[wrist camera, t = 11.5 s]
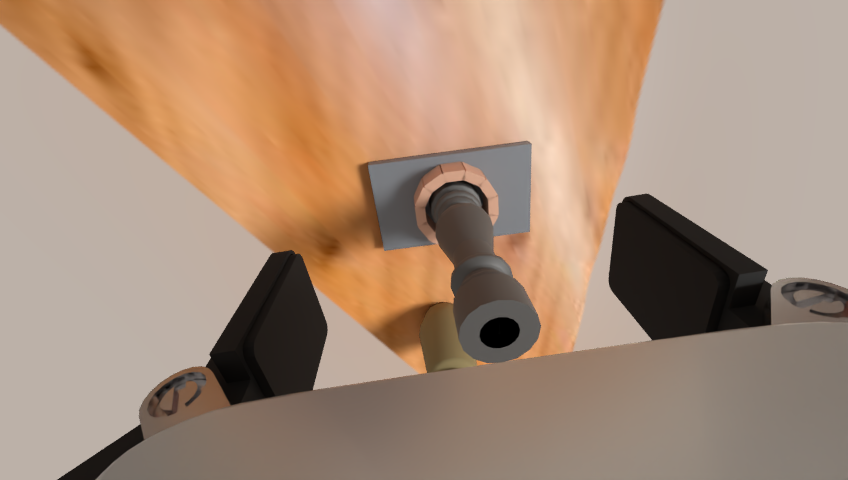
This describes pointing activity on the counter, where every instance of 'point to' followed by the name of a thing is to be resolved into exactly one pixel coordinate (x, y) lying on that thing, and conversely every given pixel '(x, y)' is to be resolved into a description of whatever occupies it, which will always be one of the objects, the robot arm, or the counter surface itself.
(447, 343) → the squeeze bottle
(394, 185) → the socket board
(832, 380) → the robot arm
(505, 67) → the counter surface
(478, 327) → the candle holder
